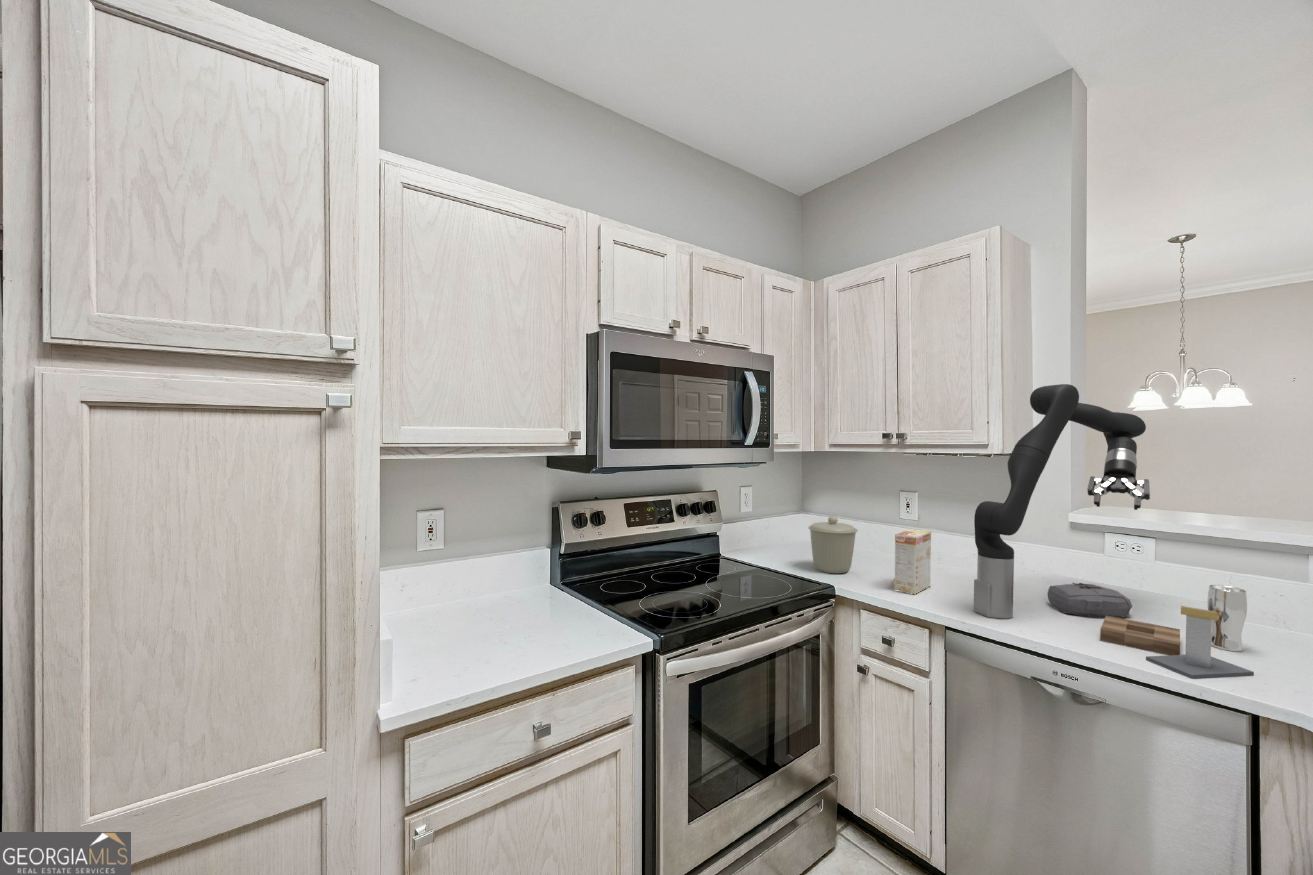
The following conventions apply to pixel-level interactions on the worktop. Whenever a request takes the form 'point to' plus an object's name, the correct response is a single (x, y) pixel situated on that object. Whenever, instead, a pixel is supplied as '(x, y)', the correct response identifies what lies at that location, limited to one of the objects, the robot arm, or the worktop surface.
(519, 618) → the worktop surface
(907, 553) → the coffeecake box
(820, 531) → the canister
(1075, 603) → the grey rounded bag
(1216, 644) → the beer glass
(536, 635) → the worktop surface
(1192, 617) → the t key
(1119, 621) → the socket block
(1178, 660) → the slate mat
